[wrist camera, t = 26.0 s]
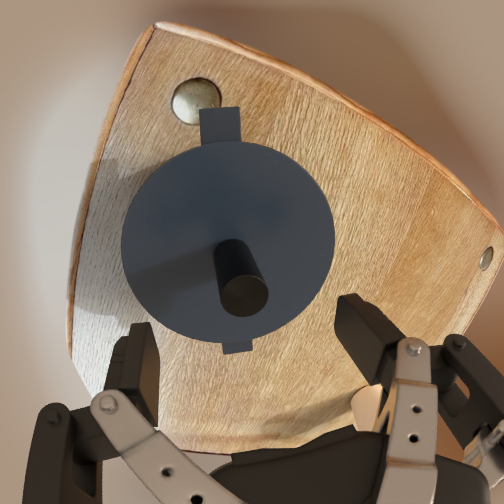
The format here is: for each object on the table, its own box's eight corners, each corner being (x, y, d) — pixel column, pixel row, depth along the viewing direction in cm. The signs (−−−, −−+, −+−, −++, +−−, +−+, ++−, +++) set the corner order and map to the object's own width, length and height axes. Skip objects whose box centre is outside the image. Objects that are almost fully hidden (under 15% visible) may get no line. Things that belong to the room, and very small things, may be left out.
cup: (330, 403, 42) (355, 453, 32) (378, 367, 41) (411, 414, 31) (352, 417, 46) (376, 459, 36) (394, 386, 45) (423, 426, 35)
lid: (149, 342, 20) (141, 401, 15) (109, 156, 15) (69, 167, 10) (321, 318, 22) (354, 367, 17) (330, 138, 17) (384, 144, 12)
